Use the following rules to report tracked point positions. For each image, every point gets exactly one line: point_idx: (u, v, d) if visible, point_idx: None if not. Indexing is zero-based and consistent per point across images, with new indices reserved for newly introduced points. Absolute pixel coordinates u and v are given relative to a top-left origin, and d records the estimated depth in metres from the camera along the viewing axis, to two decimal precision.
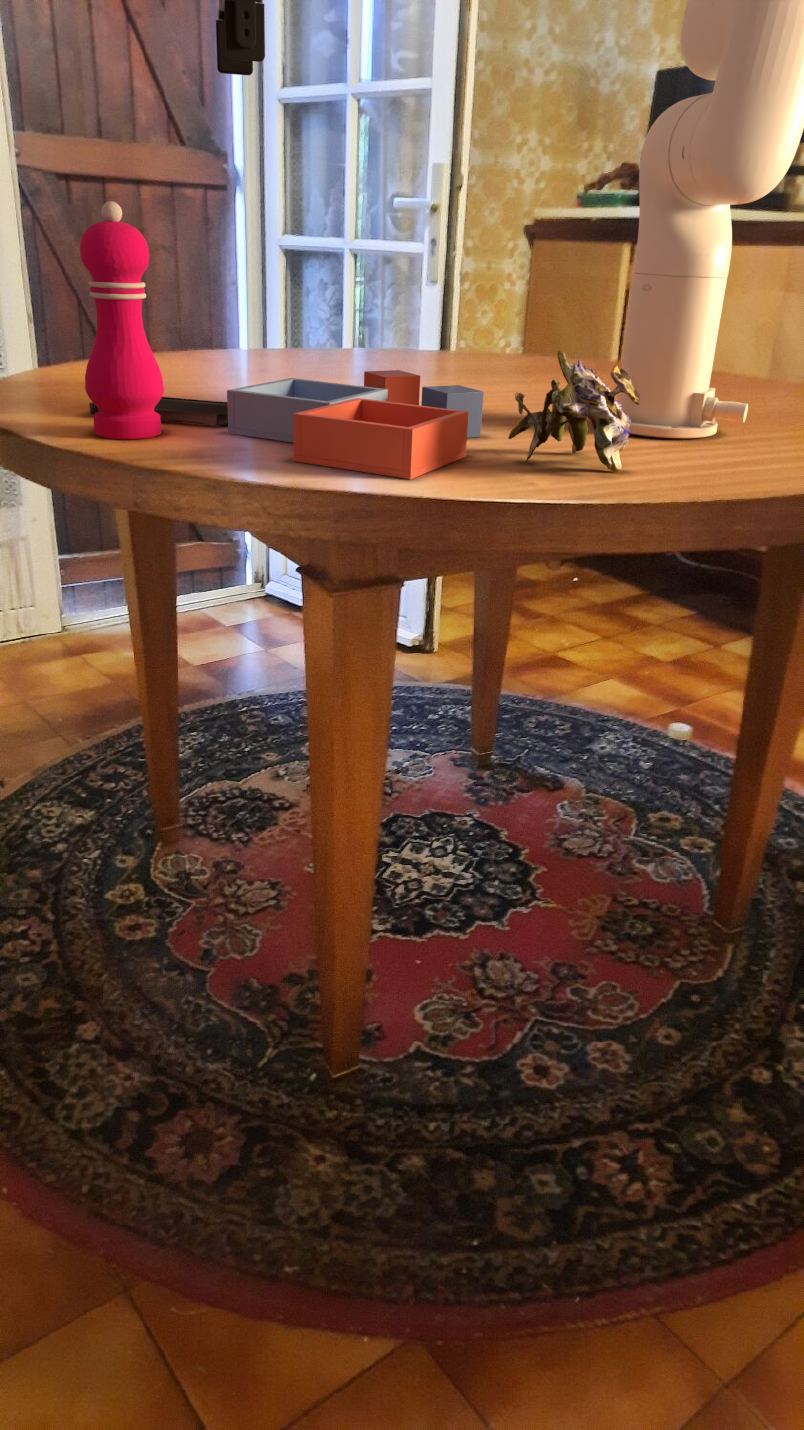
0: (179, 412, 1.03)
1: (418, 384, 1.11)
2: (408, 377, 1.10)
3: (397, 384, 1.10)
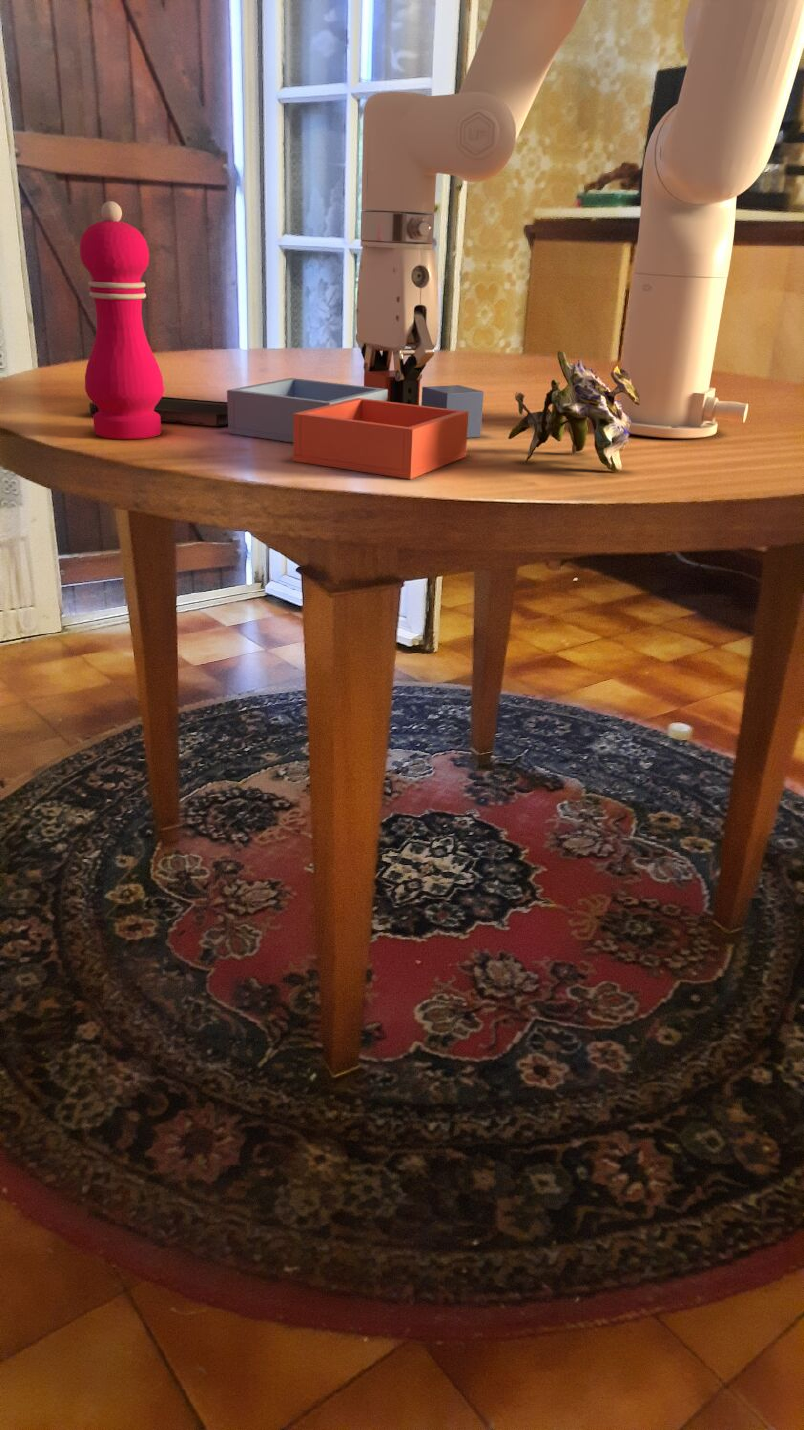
0: (179, 412, 1.03)
1: (418, 384, 1.11)
2: None
3: None
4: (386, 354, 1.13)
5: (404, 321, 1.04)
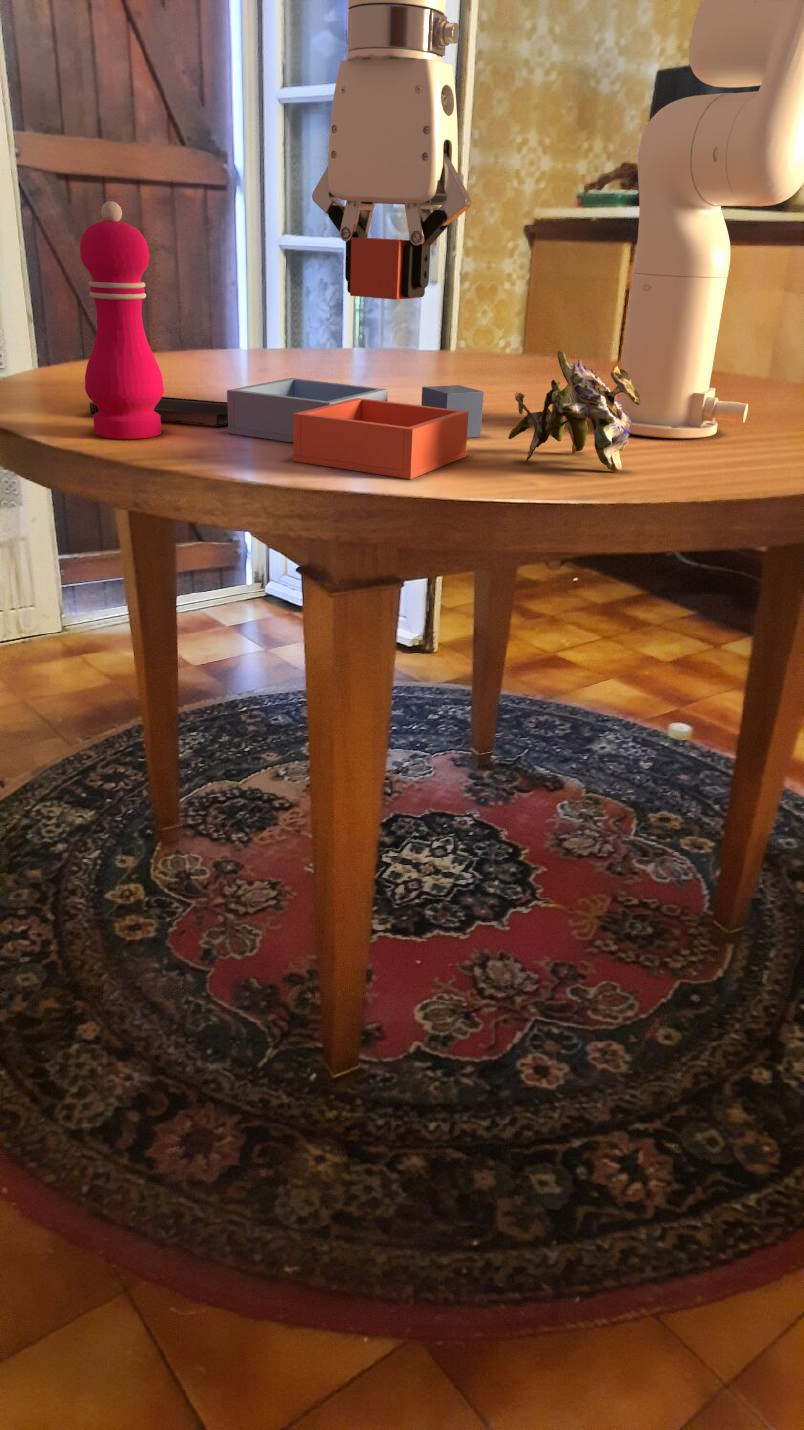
0: (179, 412, 1.03)
1: None
2: None
3: None
4: (366, 216, 0.86)
5: (435, 160, 0.80)
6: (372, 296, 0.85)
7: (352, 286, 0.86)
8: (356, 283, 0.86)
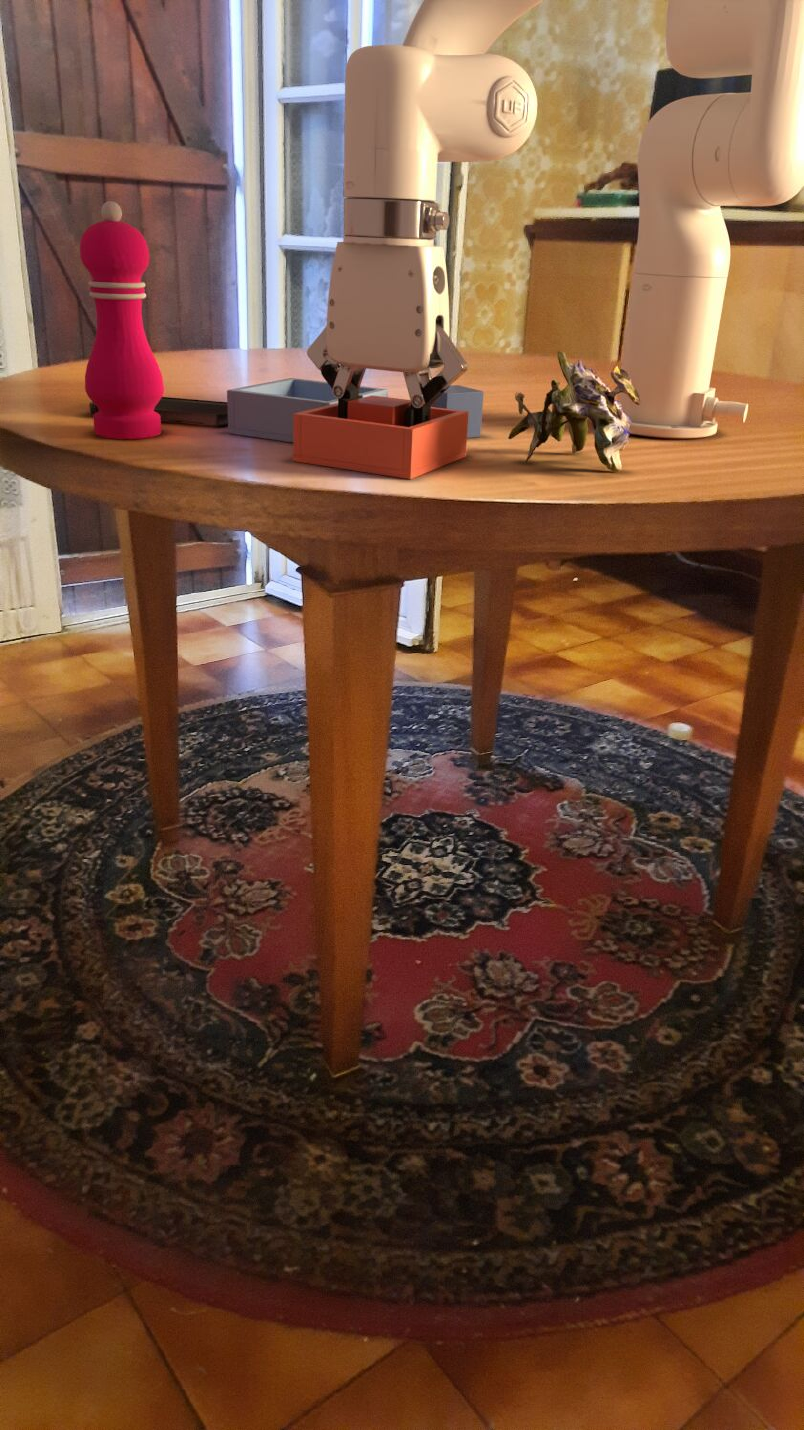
0: (179, 412, 1.03)
1: None
2: (408, 404, 0.90)
3: (401, 414, 0.89)
4: (358, 374, 0.91)
5: (427, 336, 0.84)
6: None
7: None
8: None
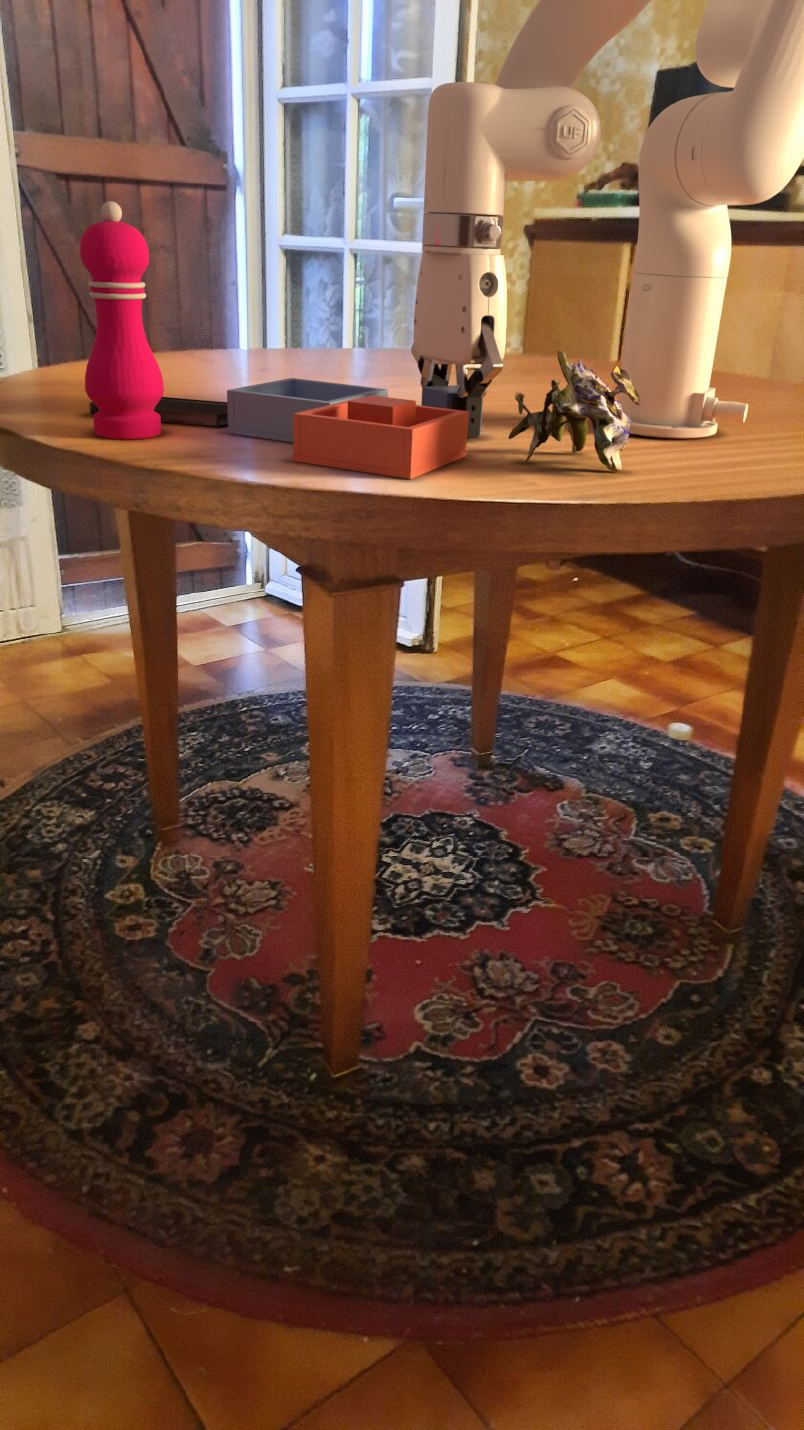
0: (179, 412, 1.03)
1: (414, 411, 0.91)
2: (408, 404, 0.90)
3: (401, 414, 0.89)
4: (446, 368, 1.04)
5: (470, 333, 0.96)
6: None
7: None
8: None
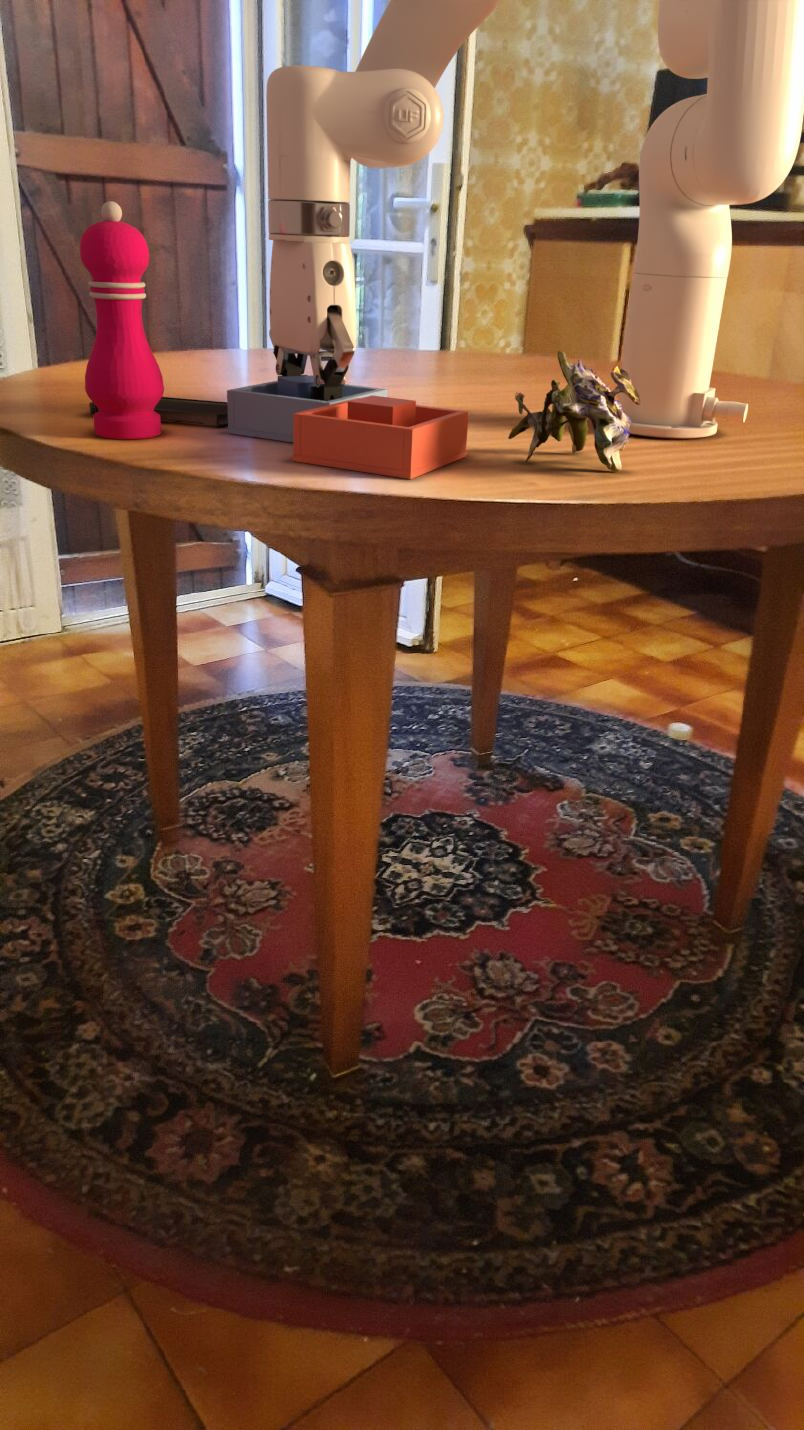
0: (179, 412, 1.03)
1: (414, 411, 0.91)
2: (408, 404, 0.90)
3: (401, 414, 0.89)
4: (301, 356, 1.03)
5: (316, 323, 0.94)
6: None
7: None
8: None
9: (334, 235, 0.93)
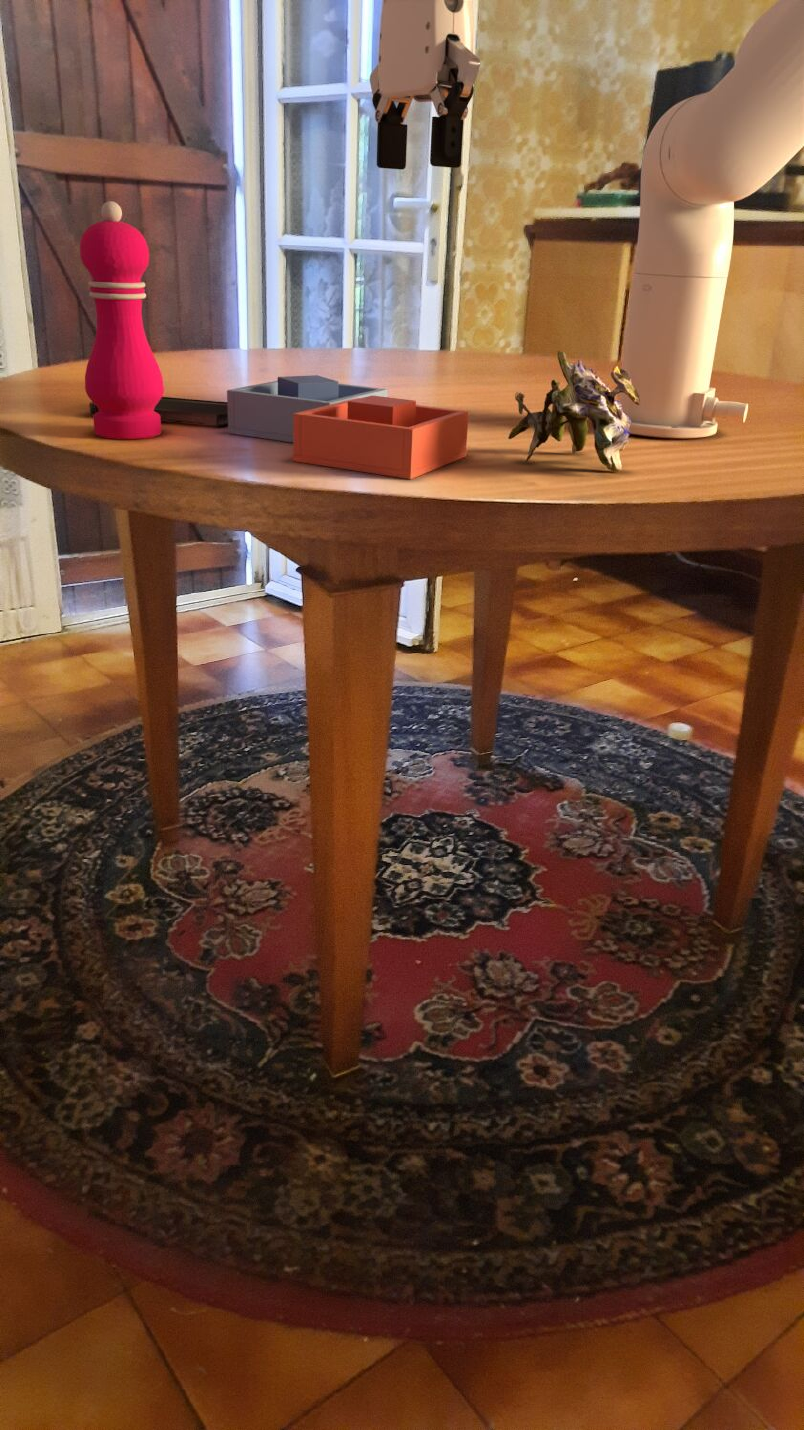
0: (179, 412, 1.03)
1: (414, 411, 0.91)
2: (408, 404, 0.90)
3: (401, 414, 0.89)
4: (403, 106, 1.01)
5: (435, 52, 0.92)
6: None
7: None
8: None
9: None
